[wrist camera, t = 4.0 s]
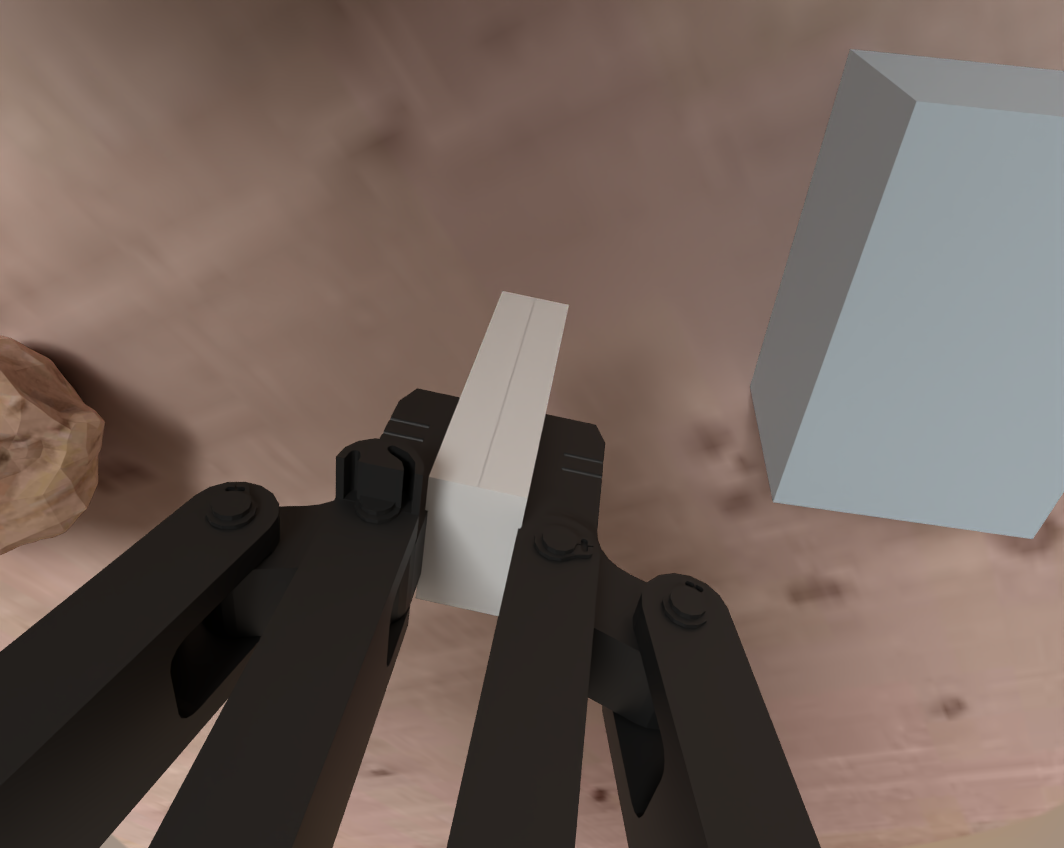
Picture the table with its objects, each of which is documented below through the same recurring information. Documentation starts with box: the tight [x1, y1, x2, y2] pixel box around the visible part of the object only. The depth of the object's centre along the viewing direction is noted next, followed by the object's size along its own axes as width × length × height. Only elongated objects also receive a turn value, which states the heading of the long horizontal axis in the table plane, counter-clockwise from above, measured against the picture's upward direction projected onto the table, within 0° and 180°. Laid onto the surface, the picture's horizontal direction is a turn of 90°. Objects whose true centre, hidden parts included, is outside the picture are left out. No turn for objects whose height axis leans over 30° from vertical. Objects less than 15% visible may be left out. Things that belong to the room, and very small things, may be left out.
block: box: [750, 49, 1064, 539], centre depth 22 cm, size 8×12×7 cm, turn 176°
